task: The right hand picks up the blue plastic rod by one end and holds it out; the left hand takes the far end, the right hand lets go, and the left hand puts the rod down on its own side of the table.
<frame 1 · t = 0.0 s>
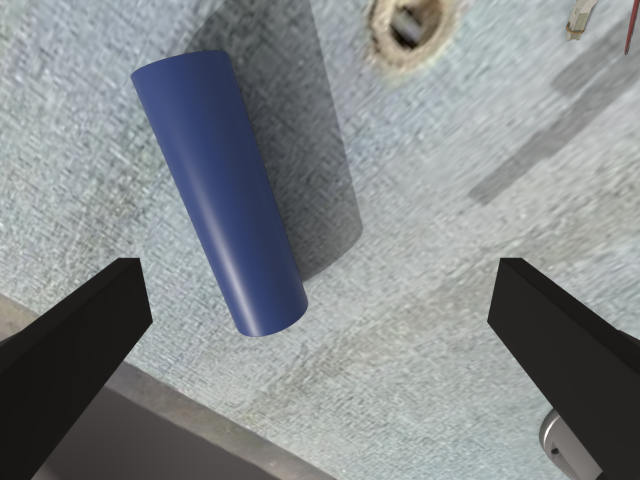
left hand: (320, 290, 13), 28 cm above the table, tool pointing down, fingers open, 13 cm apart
rod: (241, 195, 40), on the table
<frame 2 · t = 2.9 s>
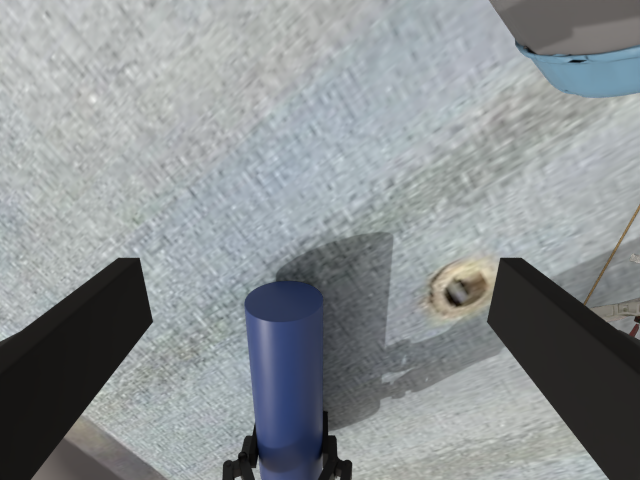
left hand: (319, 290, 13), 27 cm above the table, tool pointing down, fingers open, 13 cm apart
bow: (637, 206, 39), on the table
rod: (290, 367, 48), on the table, touching right hand
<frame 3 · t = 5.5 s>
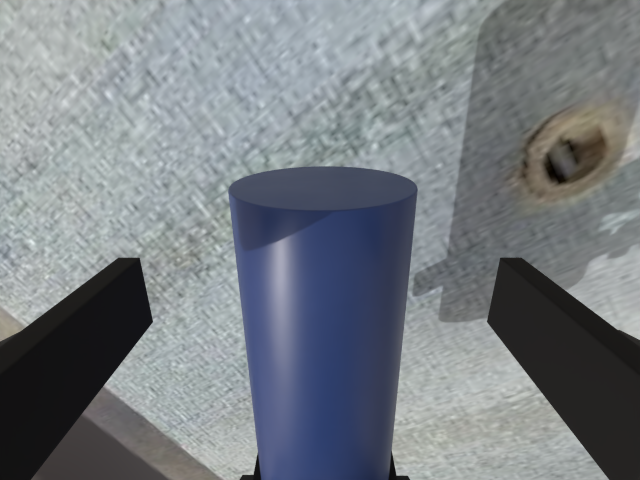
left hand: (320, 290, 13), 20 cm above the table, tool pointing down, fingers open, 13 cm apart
rod: (324, 348, 26), point 11 cm above the table, touching right hand
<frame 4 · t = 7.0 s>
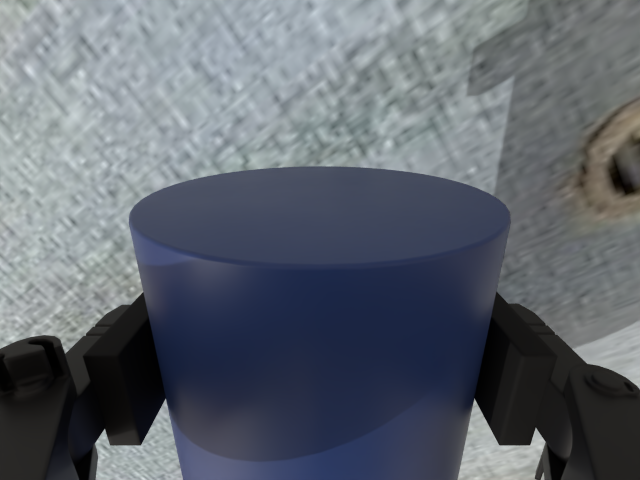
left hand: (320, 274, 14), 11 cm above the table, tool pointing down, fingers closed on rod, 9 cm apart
rod: (320, 429, 18), point 11 cm above the table, touching left hand, right hand
when the right hand's fingers open (11 cm above the table, at t = 8.1 s): rod stays where it is, held by the left hand.
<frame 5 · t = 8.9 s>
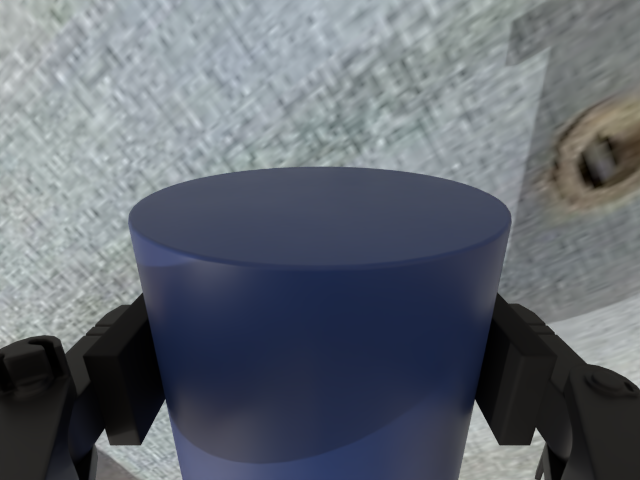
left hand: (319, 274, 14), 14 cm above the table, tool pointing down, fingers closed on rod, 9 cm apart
rod: (320, 430, 18), point 14 cm above the table, touching left hand
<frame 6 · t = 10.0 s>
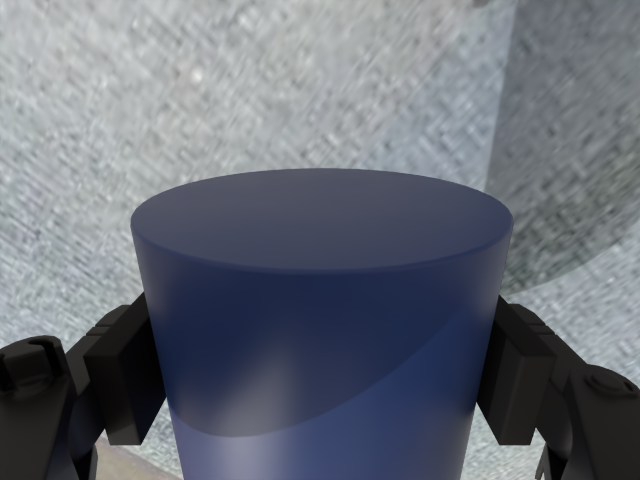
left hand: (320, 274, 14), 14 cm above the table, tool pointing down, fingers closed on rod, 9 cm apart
rod: (321, 431, 18), point 13 cm above the table, touching left hand
when the left hand's fingers open (2 cm above the table, at t = 13.0 s): rod drops 1 cm, on the table.
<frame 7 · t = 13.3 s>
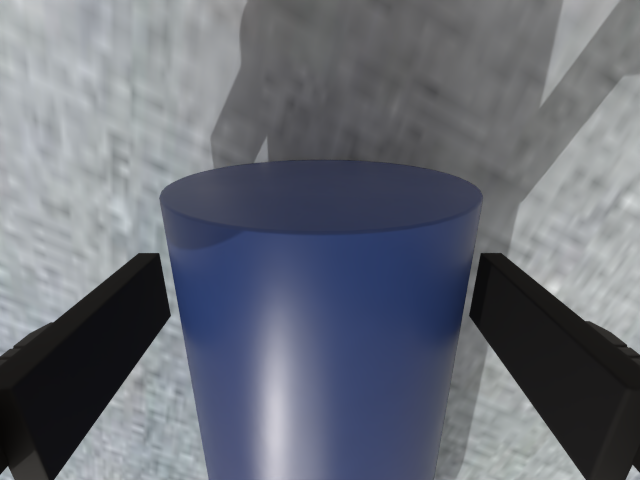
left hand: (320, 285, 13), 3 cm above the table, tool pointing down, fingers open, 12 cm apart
rod: (321, 406, 19), on the table
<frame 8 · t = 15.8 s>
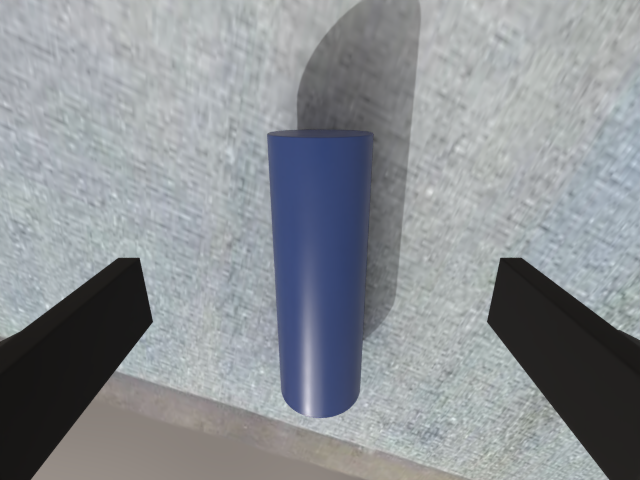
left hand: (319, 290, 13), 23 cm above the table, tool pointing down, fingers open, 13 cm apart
rod: (320, 258, 38), on the table
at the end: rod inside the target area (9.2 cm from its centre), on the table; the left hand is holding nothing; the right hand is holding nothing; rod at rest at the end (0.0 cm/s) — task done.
